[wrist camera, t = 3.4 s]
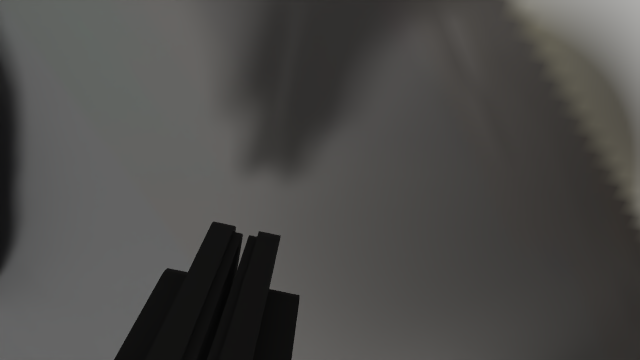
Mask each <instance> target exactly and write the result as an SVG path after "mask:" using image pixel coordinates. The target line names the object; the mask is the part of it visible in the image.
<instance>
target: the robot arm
mask: <svg viewBox="0 0 640 360" xmlns="http://www.w3.org/2000/svg"><path fill="white" fill-rule="evenodd" d="M235 230H236V227H235V226H232V225H227V224H223V223H218V222H213V223H212V224H211V226H210V228H209V230H208V232H207V234H206V236H205V239H204V241H203V243H202V245H201V247H200V249H199V251H198V253H197V255H196V257H195V259H194V261H193V263H192V265H191V267H190V269H189V271H188V272H183V271H178V270H174V269H169V268H167V269H166V270H165V271H164V272H163V274H162V276H161V277H160V279H159V281H158V283H157V284H156V286H155V288H154V290H153V291H152V293H151V295H150V297H149V299H148V300H147V302H146V304H145V306H144V307H143V309H142V311H141V313H140V315H139V316H138V318H137V320H136V322H135V323H134V325H133V327H132V329H131V331H130V332H129V334H128V336H127V338H126V339H125V341H124V343H123V345H122V347H121V348H120V350H119V352H118V354H117V355H116V357H115V359H114V360H291V358H292V350H293V343H294V335H295V328H296V321H297V313H298V306H299V295H295V294H290V293H286V292H281V291H276V290H271V289H269V287H270V282H271V278H272V273H273V269H274V264H275V259H276V255H277V250H278V246H279V241H280V236H279V235H274V234H270V233H265V232H260V231H259V233H258V236H257V237H255V236H250V235H249V237H248V240H247V243H246V246H245V249H244V252H243V255H242V258H241V261H240V264H239V267H238V262H239V255H240V249H241V243H242V237H243V234H241V233H236V232H235ZM237 268H238V270H237Z"/></svg>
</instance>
